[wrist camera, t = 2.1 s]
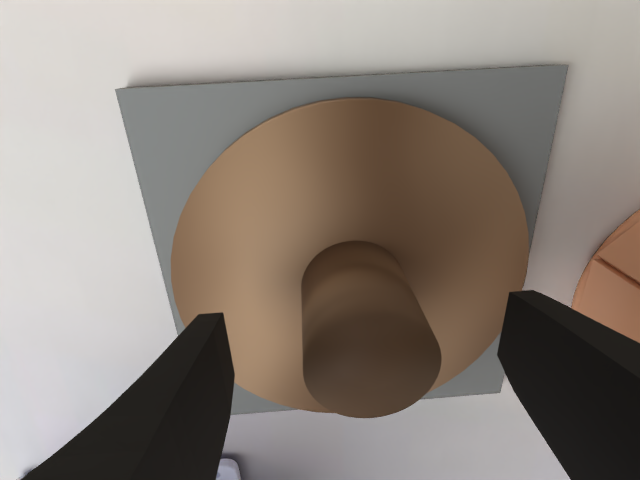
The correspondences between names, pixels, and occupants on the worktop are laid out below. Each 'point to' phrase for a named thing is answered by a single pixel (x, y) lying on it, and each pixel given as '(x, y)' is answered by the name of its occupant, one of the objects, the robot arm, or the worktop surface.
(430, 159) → the lid
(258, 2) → the worktop surface
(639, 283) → the bowl
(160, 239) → the mat
